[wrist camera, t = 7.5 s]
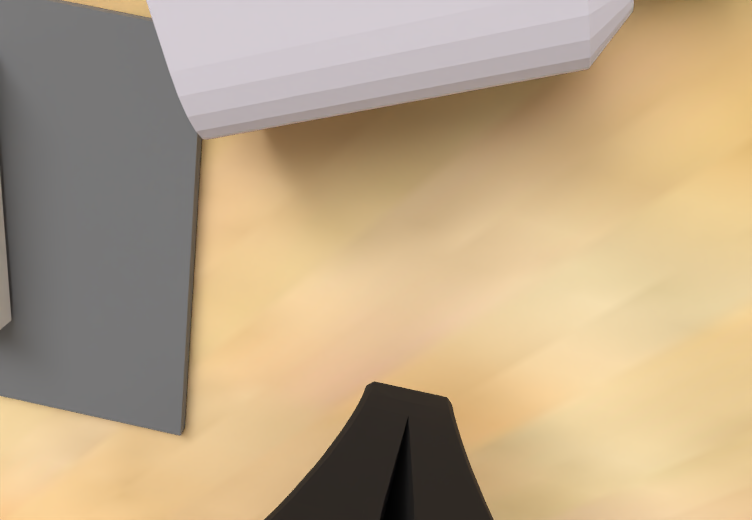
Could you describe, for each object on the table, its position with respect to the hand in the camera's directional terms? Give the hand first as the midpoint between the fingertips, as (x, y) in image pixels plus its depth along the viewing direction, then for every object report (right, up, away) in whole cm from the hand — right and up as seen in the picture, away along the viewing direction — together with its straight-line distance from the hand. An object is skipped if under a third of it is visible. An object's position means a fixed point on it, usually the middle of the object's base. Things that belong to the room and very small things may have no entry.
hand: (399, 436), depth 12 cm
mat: (-13, +4, +11) cm, 17 cm away
